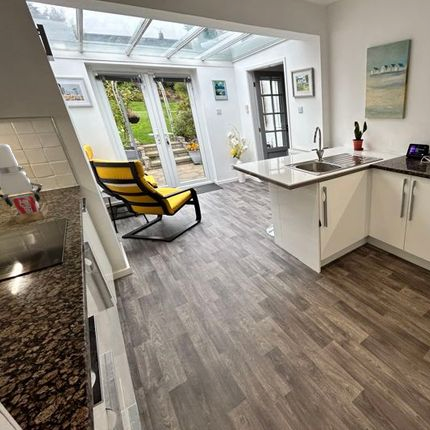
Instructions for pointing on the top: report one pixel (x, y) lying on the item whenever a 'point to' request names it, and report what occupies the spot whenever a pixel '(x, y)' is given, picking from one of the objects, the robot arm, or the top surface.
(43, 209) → the rack
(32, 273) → the top surface
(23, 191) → the robot arm
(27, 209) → the soda can
